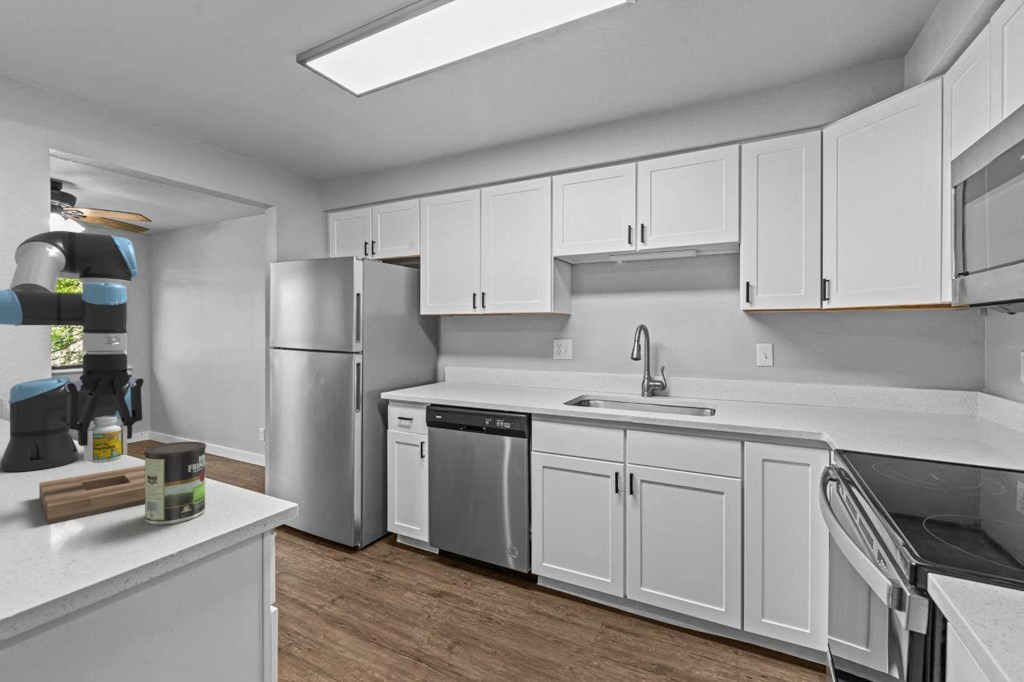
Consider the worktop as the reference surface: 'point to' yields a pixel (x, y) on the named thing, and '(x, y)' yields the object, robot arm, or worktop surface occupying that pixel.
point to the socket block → (92, 493)
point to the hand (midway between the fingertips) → (106, 456)
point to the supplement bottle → (106, 439)
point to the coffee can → (174, 482)
